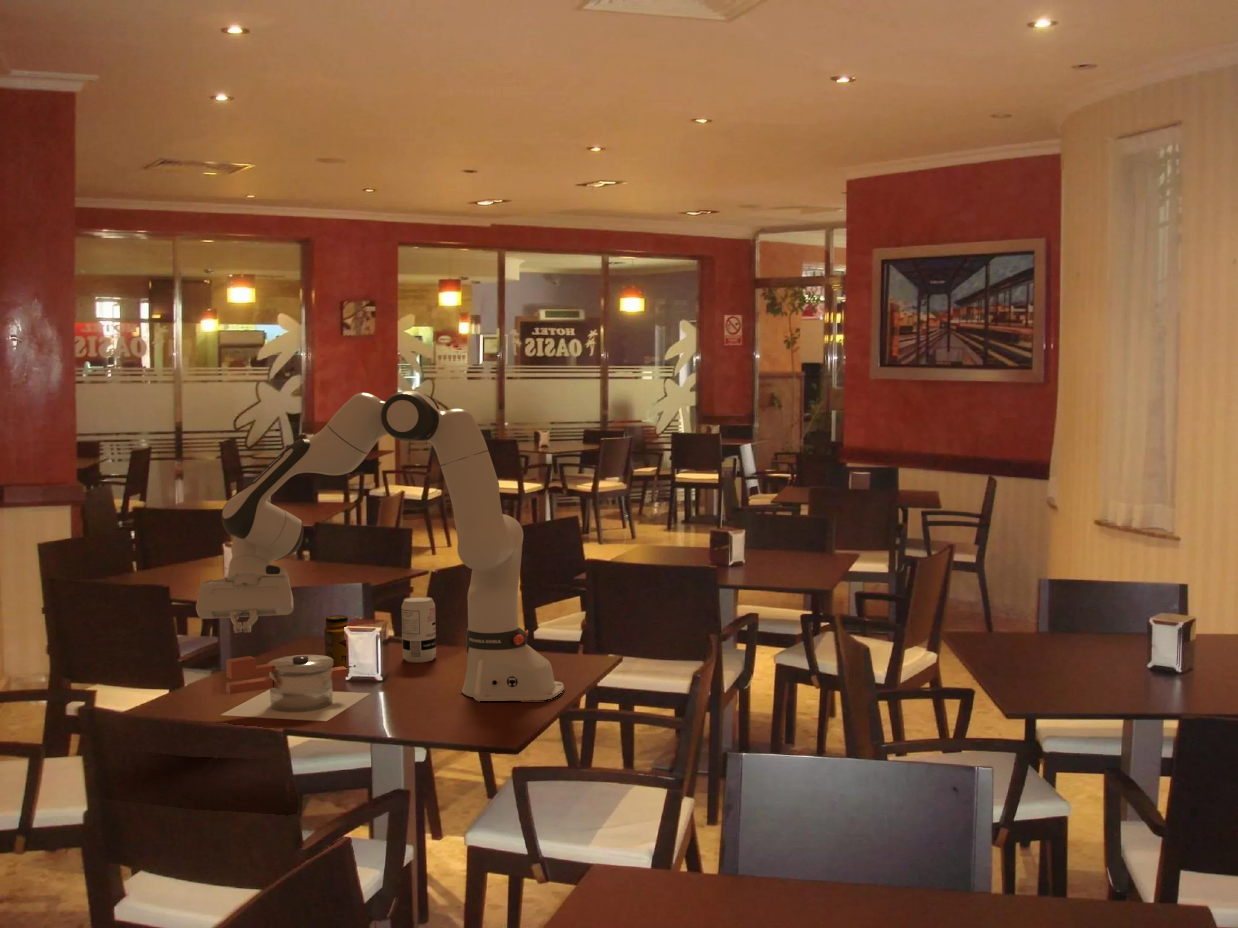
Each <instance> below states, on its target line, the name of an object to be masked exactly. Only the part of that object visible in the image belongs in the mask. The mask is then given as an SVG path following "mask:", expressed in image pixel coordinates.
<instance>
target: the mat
mask: <svg viewBox="0 0 1238 928" xmlns="http://www.w3.org/2000/svg"><path fill="white" fill-rule="evenodd" d="M371 694H372V693H371V692H370V693H369V692H353V691H351V692H350V691H333V703H332V705H330V706H328V707H326V708H323V709H319V710H315V711H308V712H280V711H276V710H273V709H272V708H271V706H270V688H269V689H266V690H265V691H264V692H262V693H260V694H258V695H256V696H254V697H252V698H250V699H248V700H247V701H245V702H243V703H241V704H239V705H237V706H235V707H232V708H231V709H229V710H227V711H225V712H223V713H221V714H220V716H222V717H223V716H227V717H244V718H245V717H246V718H249V717H250V718H260V719H261V718H264V719H280V720H281V719H283V720H294V721H295V720H298V721H315V722H316V721H317V722H327V721H329V720H331V719H332V718H334V717H336V716H338V715H339V714H341V713H342V712H344V711H345V710H348V709H349V708H350V707H352V706H354V705H355V704H356V703H358V702H360V701H361V700H363V699H365V698H366V697H368V696H369V695H371Z"/></svg>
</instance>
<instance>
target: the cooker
mask: <svg viewBox="0 0 1238 928" xmlns="http://www.w3.org/2000/svg"><path fill="white" fill-rule="evenodd" d="M268 673H269V675H268V676H264V677H259V678H258V677H257V678H250V679H243V680H237V681H231V682H226V683H225V690H226V692H227V694H229V695H234V694H242V693H248V692H255V691H263V690H269V689H270V706H271V708H272V709H273V710H276V711H280V712H308V711H315V710H319V709H323V708H326V707H328V706H330V705H332V703H333V680H334V679H335V680H336V679H342V678H348V677H349V667H347V668H346V667H344V666H341V667H334V668H332V667H331V668H329V669H327V670H324V671H320V672H315V673H308V674H294V675H288V674H277V673H272V672H268Z"/></svg>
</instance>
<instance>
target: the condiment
mask: <svg viewBox="0 0 1238 928" xmlns="http://www.w3.org/2000/svg"><path fill="white" fill-rule="evenodd" d="M347 625H348V626H349V618H348V616H347V615H343V614H339V615H337V614H335V615H329V616H327V617H326V618H325V628H324V656H328V657H331V658H332V659H333V666H332V667H341V666H345V665H346V640H345V638H344V627H346V626H347Z"/></svg>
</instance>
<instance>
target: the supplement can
mask: <svg viewBox="0 0 1238 928" xmlns="http://www.w3.org/2000/svg"><path fill="white" fill-rule="evenodd" d="M436 627H437V626H436V604H435V602H434V600H433V598H432V597H429V596H412V597H405V598H403V602H402V604H401V636H402V637H401V639H402V640H401V643H402V647H401V648H402V659H404V660H405V661H406V662H408V663H415V664H416V663H427V662H430V661H433V660H434V658H436V657H437V635H436V634H437V633H436V632H437V631H436V630H437V629H436Z"/></svg>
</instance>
